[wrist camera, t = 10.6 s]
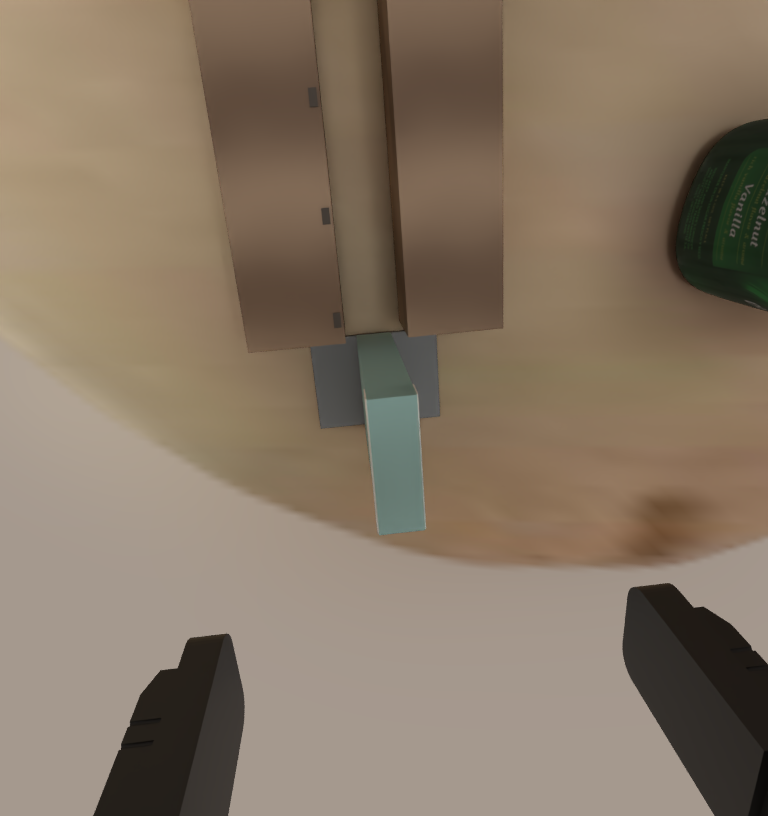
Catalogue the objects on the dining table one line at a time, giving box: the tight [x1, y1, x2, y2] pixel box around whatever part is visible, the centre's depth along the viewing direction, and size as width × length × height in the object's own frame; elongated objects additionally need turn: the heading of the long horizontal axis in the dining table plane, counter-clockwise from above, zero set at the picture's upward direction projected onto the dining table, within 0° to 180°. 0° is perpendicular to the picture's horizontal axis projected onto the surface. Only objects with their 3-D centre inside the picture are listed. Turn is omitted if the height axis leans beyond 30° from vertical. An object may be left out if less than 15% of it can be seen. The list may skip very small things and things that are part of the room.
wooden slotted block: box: [189, 0, 503, 353], centre depth 22 cm, size 18×11×4 cm, turn 5°
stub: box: [356, 332, 426, 535], centre depth 23 cm, size 5×2×9 cm, turn 5°
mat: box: [310, 330, 440, 429], centre depth 27 cm, size 4×6×1 cm
